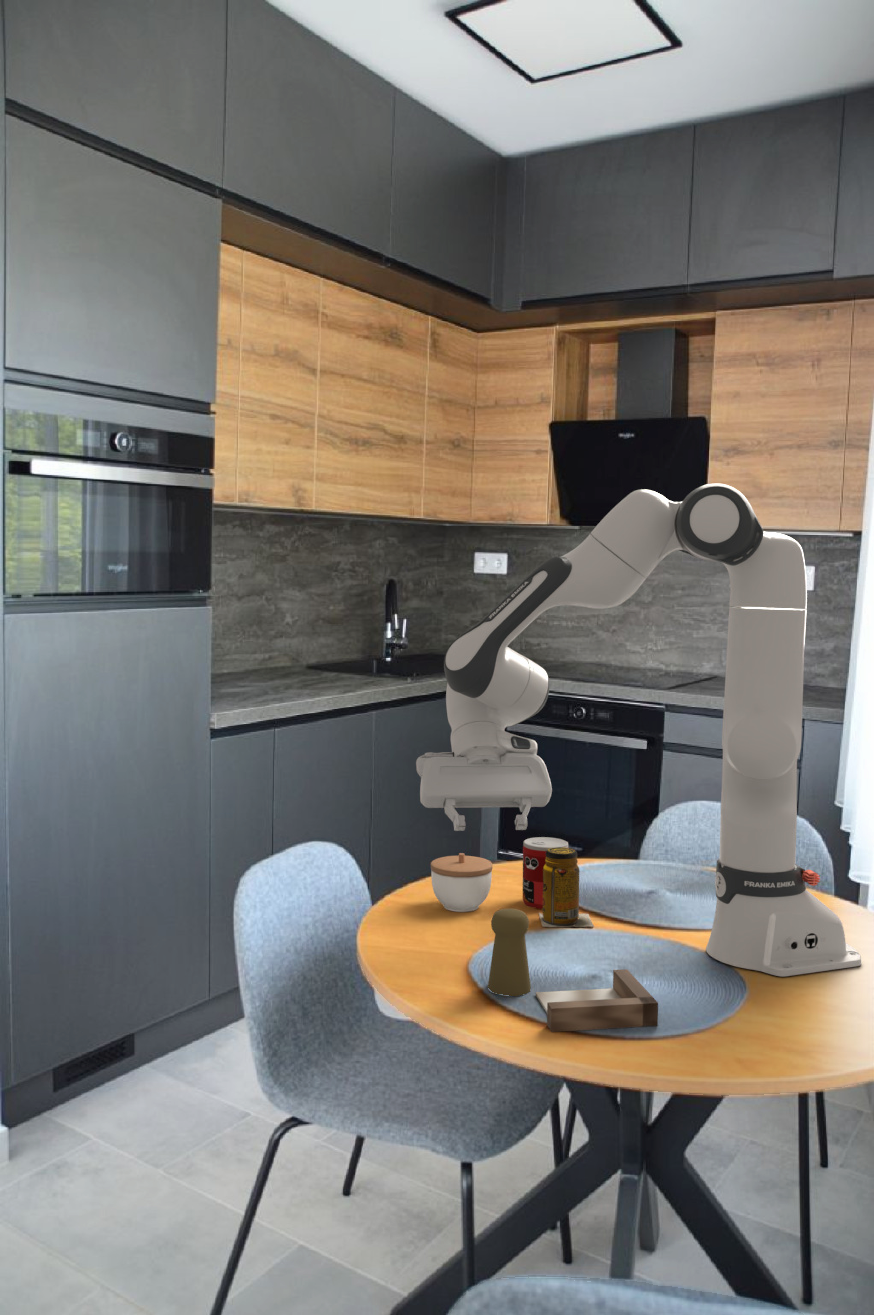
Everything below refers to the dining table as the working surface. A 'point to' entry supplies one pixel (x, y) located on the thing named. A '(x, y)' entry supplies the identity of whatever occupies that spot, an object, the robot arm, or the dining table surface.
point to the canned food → (536, 868)
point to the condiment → (562, 890)
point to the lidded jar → (461, 881)
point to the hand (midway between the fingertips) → (491, 828)
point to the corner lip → (601, 1006)
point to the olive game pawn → (509, 953)
